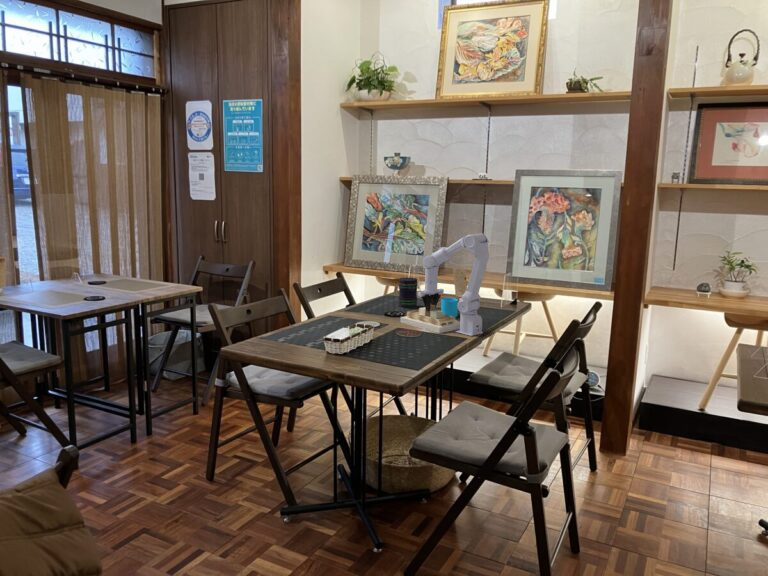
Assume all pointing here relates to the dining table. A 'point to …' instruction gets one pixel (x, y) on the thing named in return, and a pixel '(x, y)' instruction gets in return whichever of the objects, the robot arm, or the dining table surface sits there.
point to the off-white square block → (422, 311)
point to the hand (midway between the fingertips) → (430, 310)
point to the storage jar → (408, 293)
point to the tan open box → (428, 319)
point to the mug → (449, 306)
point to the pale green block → (436, 314)
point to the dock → (431, 325)
